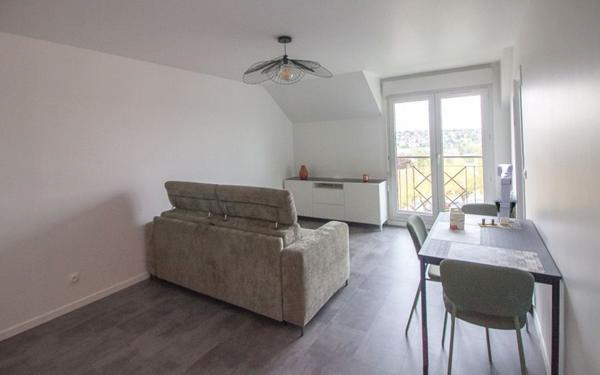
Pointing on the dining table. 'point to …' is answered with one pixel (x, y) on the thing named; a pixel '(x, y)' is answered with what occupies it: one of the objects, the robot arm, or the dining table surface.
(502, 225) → the mat
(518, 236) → the dining table surface
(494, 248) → the dining table surface
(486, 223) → the pin board
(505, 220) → the sleeve
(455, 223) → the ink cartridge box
